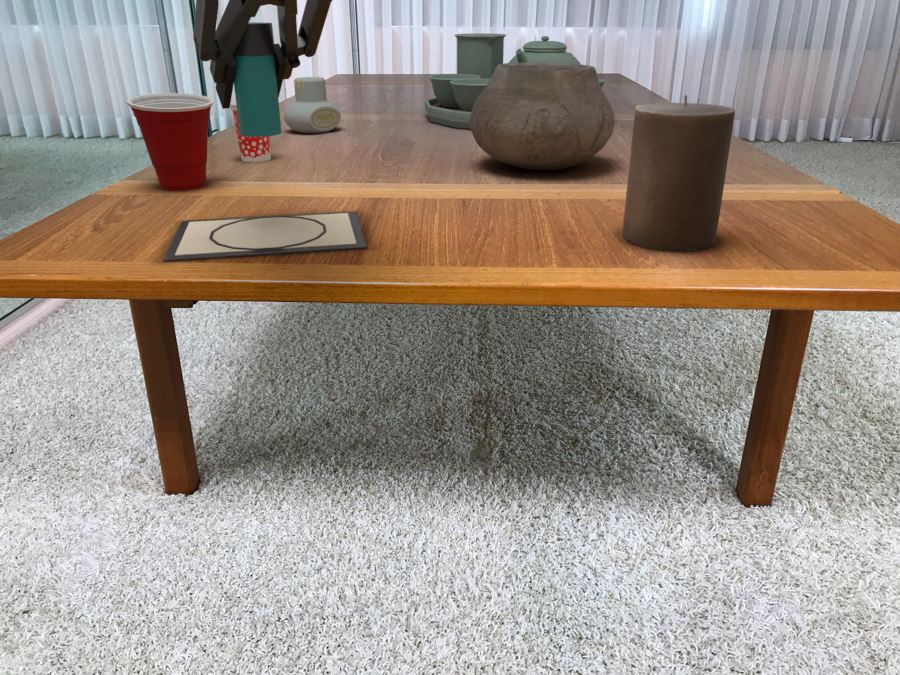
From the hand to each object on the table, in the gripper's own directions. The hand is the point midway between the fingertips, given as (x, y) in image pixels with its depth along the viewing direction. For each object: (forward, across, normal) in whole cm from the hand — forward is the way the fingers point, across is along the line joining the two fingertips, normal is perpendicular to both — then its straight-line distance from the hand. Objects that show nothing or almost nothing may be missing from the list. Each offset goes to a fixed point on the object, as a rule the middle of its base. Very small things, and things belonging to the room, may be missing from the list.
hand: (246, 96), depth 79 cm
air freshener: (+49, +28, +29) cm, 63 cm away
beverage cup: (+34, +10, +14) cm, 38 cm away
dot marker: (0, 0, -5) cm, 5 cm away
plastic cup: (+25, -4, +5) cm, 25 cm away
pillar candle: (-13, +35, -32) cm, 49 cm away
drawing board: (+4, -2, -15) cm, 16 cm away
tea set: (+43, +73, +24) cm, 88 cm away
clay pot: (+13, +46, -6) cm, 48 cm away
